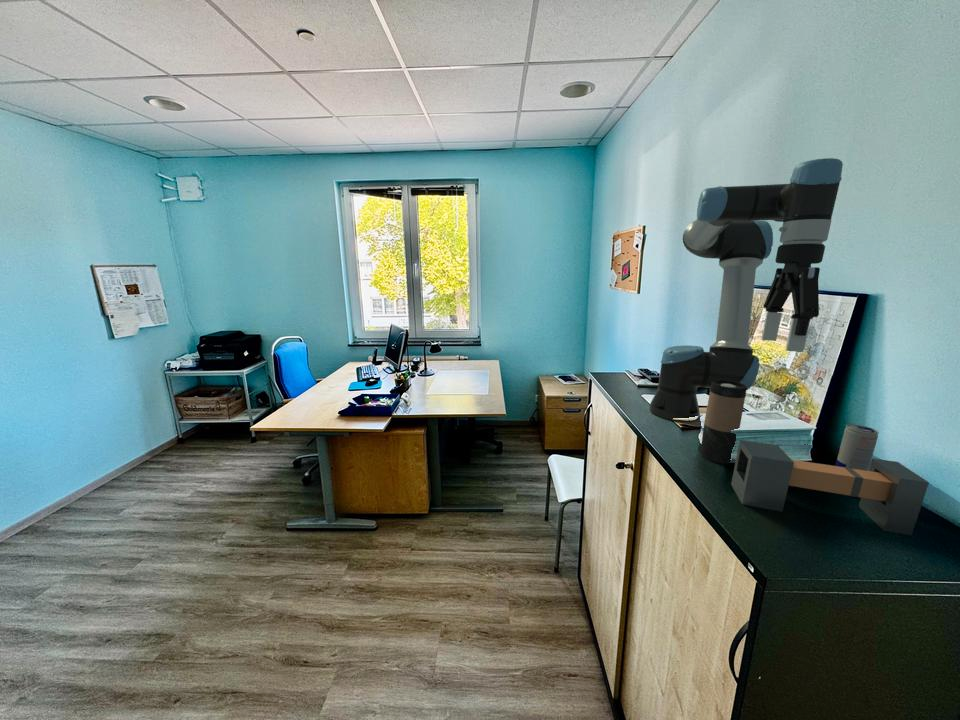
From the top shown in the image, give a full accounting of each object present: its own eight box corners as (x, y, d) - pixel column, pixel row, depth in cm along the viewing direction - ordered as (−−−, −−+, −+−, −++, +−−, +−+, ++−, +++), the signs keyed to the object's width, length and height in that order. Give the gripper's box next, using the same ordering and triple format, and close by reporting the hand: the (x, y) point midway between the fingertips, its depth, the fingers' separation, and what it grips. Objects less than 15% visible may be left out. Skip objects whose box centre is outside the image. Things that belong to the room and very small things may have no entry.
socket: (858, 506, 78) (872, 458, 76) (883, 510, 77) (897, 461, 75) (883, 530, 71) (900, 478, 68) (911, 535, 70) (928, 482, 67)
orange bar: (756, 471, 82) (759, 454, 81) (886, 492, 75) (892, 474, 74) (763, 481, 78) (766, 463, 77) (900, 504, 71) (906, 484, 70)
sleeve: (731, 484, 86) (739, 439, 83) (767, 490, 83) (777, 445, 81) (742, 504, 78) (752, 456, 76) (782, 511, 76) (794, 462, 74)
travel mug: (738, 465, 94) (753, 389, 90) (705, 462, 96) (718, 387, 91) (725, 452, 101) (739, 380, 97) (694, 448, 103) (706, 378, 98)
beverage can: (855, 486, 86) (872, 425, 82) (865, 498, 81) (884, 434, 78) (826, 481, 88) (842, 421, 84) (835, 492, 83) (852, 429, 80)
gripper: (758, 247, 90) (742, 335, 95) (808, 238, 67) (783, 355, 72) (796, 247, 87) (778, 337, 92) (861, 238, 64) (832, 358, 69)
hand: (780, 345), depth 82 cm, fingers open, 13 cm apart
